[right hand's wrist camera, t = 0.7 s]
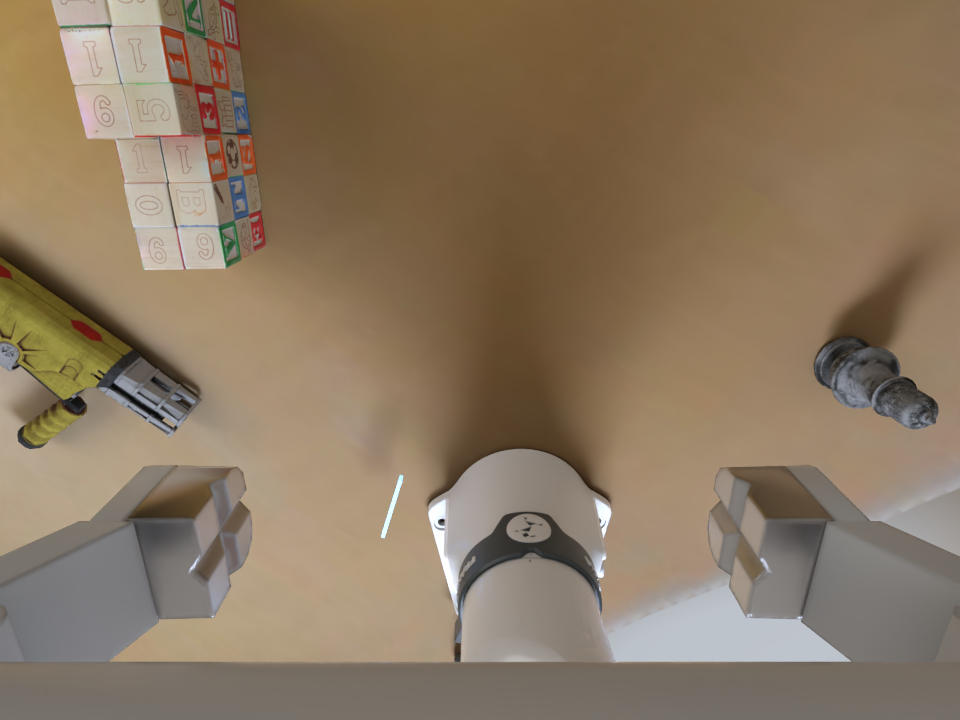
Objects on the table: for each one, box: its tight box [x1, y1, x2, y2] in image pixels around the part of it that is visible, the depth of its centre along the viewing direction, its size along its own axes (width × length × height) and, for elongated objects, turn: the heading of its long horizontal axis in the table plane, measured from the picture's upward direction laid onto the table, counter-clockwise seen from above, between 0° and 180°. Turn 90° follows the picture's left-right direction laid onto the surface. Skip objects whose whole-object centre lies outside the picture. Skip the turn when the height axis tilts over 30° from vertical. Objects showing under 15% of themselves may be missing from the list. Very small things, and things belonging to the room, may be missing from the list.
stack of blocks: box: [52, 0, 266, 270], centre depth 42 cm, size 21×6×12 cm, turn 0°
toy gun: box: [0, 257, 202, 449], centre depth 54 cm, size 5×24×15 cm
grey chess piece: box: [814, 337, 938, 429], centre depth 50 cm, size 6×6×12 cm
